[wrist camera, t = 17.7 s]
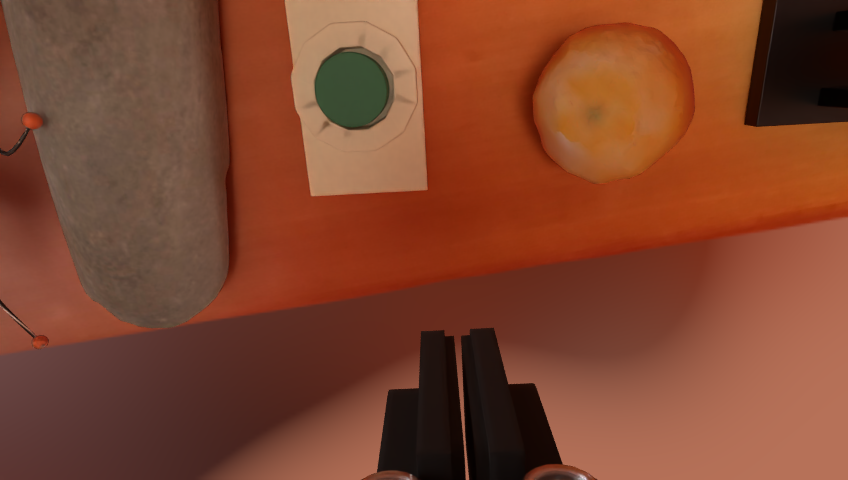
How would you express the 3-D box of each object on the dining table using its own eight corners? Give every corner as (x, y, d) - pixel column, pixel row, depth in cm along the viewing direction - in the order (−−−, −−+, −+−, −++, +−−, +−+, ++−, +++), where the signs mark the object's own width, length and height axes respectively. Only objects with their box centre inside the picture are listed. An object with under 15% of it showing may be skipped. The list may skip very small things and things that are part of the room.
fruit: (702, 151, 29) (690, 191, 23) (569, 161, 33) (528, 197, 27) (700, 4, 27) (686, 4, 20) (556, 35, 31) (508, 44, 25)
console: (427, 182, 31) (427, 197, 28) (318, 188, 31) (303, 204, 28) (415, -30, 27) (414, -46, 24) (291, -22, 28) (269, -36, 24)
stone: (219, -105, 26) (39, -109, 26) (133, -161, 19) (-103, -164, 20) (255, 301, 34) (118, 290, 35) (203, 359, 28) (36, 344, 28)
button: (392, 122, 27) (389, 125, 25) (325, 125, 27) (319, 129, 25) (386, 50, 25) (384, 49, 24) (317, 55, 25) (309, 53, 24)
